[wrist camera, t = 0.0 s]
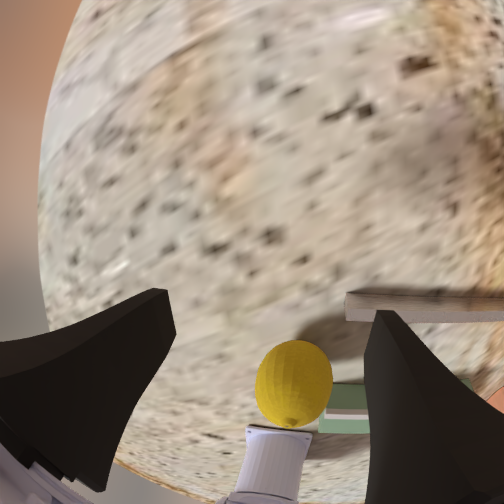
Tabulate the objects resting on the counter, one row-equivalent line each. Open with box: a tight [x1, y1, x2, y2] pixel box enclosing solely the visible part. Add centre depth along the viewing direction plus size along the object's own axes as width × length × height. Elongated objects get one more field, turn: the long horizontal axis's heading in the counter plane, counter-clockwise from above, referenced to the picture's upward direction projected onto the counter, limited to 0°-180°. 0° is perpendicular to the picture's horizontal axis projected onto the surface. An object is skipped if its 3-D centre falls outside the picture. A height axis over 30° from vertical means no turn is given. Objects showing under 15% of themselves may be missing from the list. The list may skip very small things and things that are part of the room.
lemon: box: [255, 340, 333, 429], centre depth 18 cm, size 6×6×8 cm
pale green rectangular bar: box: [318, 379, 474, 434], centre depth 21 cm, size 4×16×4 cm, turn 91°
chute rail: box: [344, 293, 504, 323], centre depth 17 cm, size 1×16×2 cm, turn 91°
